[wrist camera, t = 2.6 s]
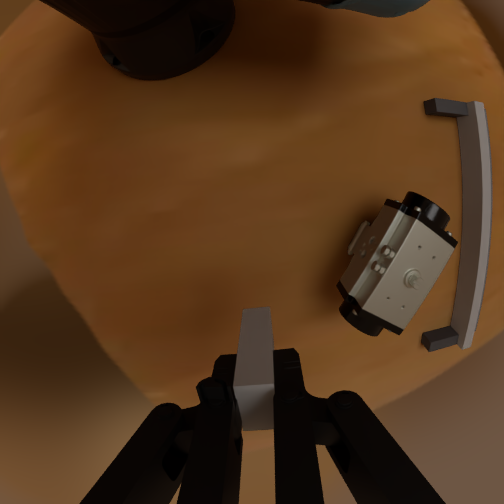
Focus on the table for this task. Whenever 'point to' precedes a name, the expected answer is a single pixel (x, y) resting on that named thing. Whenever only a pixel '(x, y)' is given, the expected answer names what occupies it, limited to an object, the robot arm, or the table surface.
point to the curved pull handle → (468, 221)
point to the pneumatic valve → (394, 264)
